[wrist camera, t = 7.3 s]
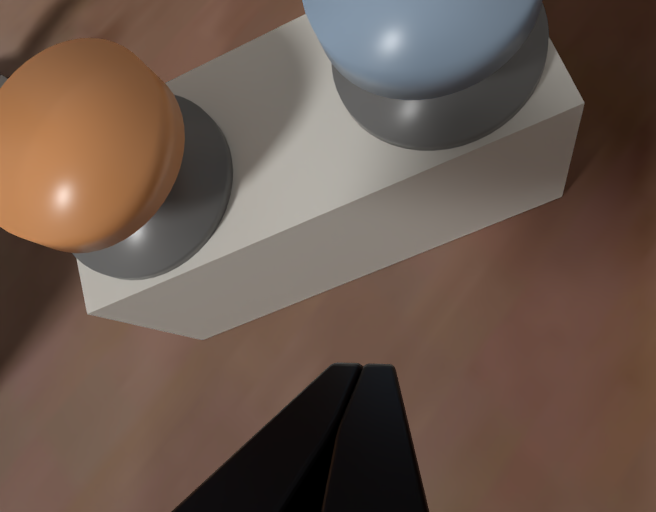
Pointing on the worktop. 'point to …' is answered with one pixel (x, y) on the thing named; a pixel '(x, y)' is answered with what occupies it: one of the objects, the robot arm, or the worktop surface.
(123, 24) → the worktop surface
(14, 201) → the orange button
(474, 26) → the blue button
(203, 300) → the button console
